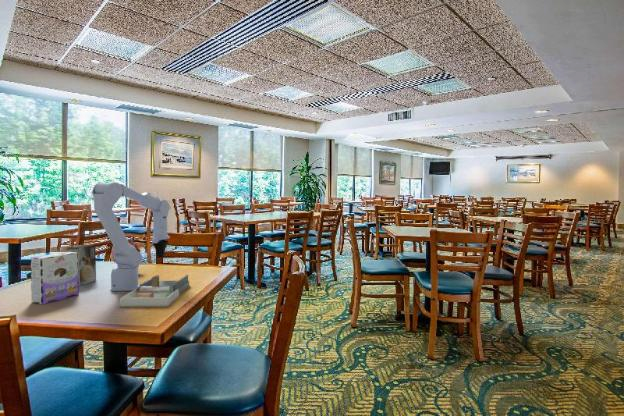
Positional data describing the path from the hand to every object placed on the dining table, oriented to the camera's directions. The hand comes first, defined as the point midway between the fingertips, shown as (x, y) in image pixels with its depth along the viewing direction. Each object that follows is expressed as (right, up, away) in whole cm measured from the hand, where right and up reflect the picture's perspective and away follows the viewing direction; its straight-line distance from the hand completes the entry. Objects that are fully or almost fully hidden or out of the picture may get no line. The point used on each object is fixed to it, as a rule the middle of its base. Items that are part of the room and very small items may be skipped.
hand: (160, 257), depth 167 cm
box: (+9, -12, -31) cm, 35 cm away
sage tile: (+12, -11, -29) cm, 33 cm away
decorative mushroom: (-21, -10, +16) cm, 28 cm away
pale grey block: (+9, -9, -27) cm, 30 cm away
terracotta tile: (+6, -11, -29) cm, 32 cm away
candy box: (-27, -12, -29) cm, 41 cm away
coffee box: (-32, -11, -5) cm, 34 cm away
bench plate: (+9, -11, -17) cm, 22 cm away
